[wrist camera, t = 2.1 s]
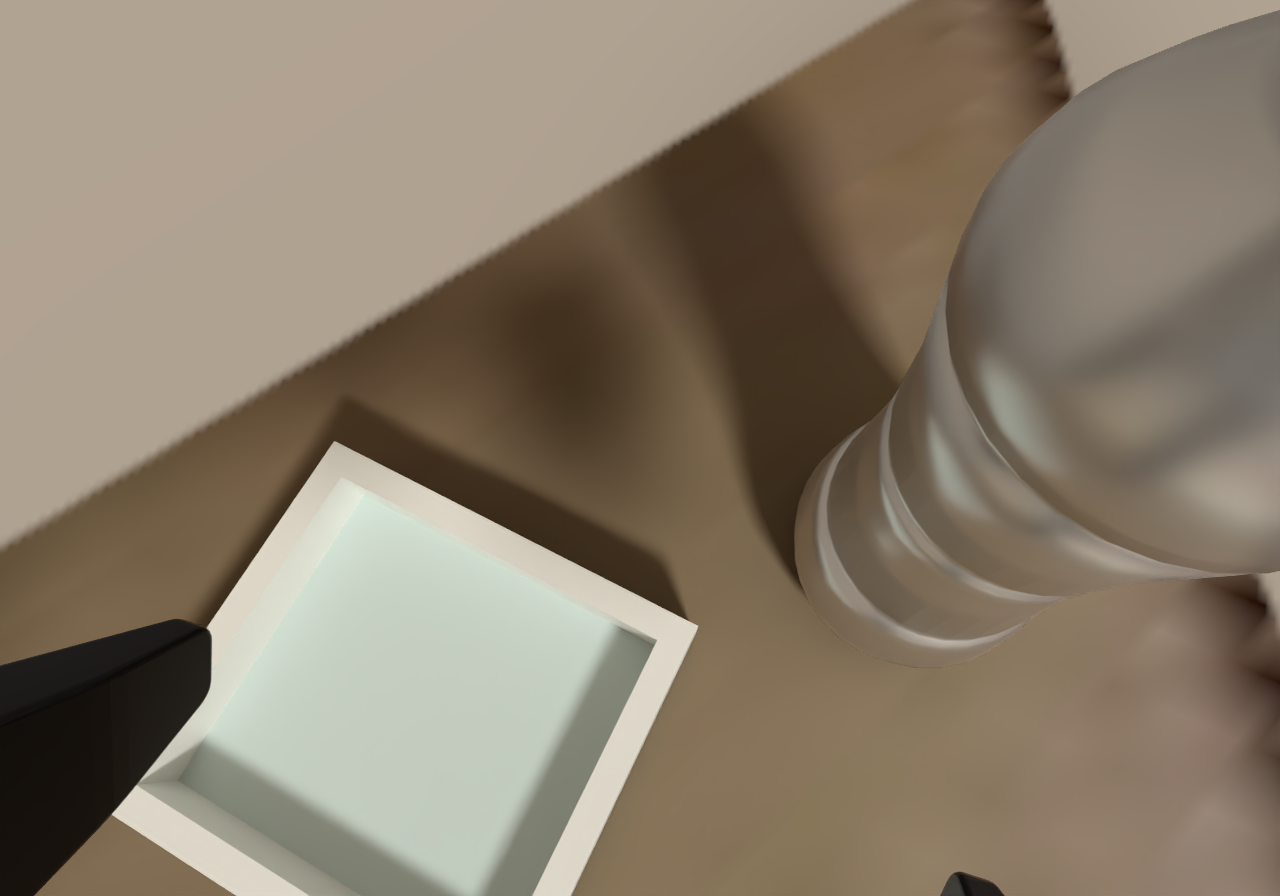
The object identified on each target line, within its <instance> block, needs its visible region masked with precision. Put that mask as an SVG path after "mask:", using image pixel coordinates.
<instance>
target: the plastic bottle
mask: <svg viewBox="0 0 1280 896" xmlns="http://www.w3.org/2000/svg"><path fill="white" fill-rule="evenodd" d="M794 545H795V562H796V567H797V571H798V575H799V580H800V583H801V585H802V587H803V590H804V592H805V594H806V596H807V599H808V601H809V603H810V604H811V606H812V607H813V609H814V610H815V612H816V613H817V615H818V616H819V617H820V619H821V620H822V621H823V622H824V623H825V624H826V625H827V626H828V627H829V628H830V629H831V630H832V631H833V632H834V634H835V635H836V636H837V637H839V638H840V639H842V640H843V641H845V642H846V643H848V644H849V645H850V646H852V647H853V648H855V649H856V650H858V651H861V652H863V653H865V654H868V655H870V656H872V657H874V658H877V659H880V660H883V661H887V662H891V663H896V664H900V665H905V666H909V667H914V668H942V667H947V666H952V665H957V664H962V663H965V662H968V661H970V660H972V659H974V658H976V657H979V656H981V655H983V654H985V653H987V652H989V651H990V650H992V649H993V648H995V647H996V646H998V645H999V644H1001V643H1002V642H1004V641H1005V640H1006V639H1008V638H1009V637H1010V636H1012V635H1013V634H1014V633H1016V632H1017V631H1018V630H1020V629H1021V628H1022V627H1024V626H1025V624H1026V623H1027V622H1028V621H1029V620H1030V619H1031V618H1032V617H1033V616H1035V615H1037V614H1039V613H1041V612H1043V611H1044V610H1046V609H1048V608H1050V607H1052V606H1054V605H1056V604H1057V603H1059V602H1061V601H1063V600H1065V599H1068V598H1072V597H1076V596H1081V595H1085V594H1087V593H1092V592H1097V591H1102V590H1106V589H1110V588H1114V587H1118V586H1123V585H1127V584H1133V583H1145V582H1158V581H1170V580H1183V579H1195V578H1207V577H1220V576H1232V575H1244V574H1250V573H1271V572H1276V571H1280V10H1278V11H1275V12H1272V13H1268V14H1265V15H1261V16H1258V17H1255V18H1251V19H1248V20H1245V21H1241V22H1238V23H1235V24H1231V25H1228V26H1225V27H1222V28H1220V29H1217V30H1214V31H1212V32H1209V33H1206V34H1203V35H1200V36H1198V37H1195V38H1192V39H1190V40H1187V41H1185V42H1182V43H1180V44H1178V45H1175V46H1173V47H1171V48H1169V49H1166V50H1163V51H1161V52H1159V53H1156V54H1154V55H1152V56H1149V57H1147V58H1144V59H1142V60H1140V61H1137V62H1135V63H1132V64H1130V65H1128V66H1125V67H1123V68H1121V69H1118V70H1116V71H1114V72H1112V73H1111V74H1109V75H1108V76H1106V77H1104V78H1103V79H1101V80H1099V81H1098V82H1096V83H1094V84H1093V85H1091V86H1089V87H1088V88H1086V89H1085V90H1083V91H1081V92H1080V93H1079V94H1078V95H1076V96H1075V97H1074V98H1073V99H1072V100H1071V101H1069V102H1068V103H1067V104H1066V105H1065V106H1063V107H1062V108H1061V109H1060V110H1059V111H1057V112H1056V113H1055V114H1054V115H1053V116H1051V117H1050V118H1049V119H1048V120H1047V121H1046V122H1044V123H1043V124H1042V125H1041V126H1040V127H1038V128H1037V129H1036V130H1035V131H1034V132H1032V133H1031V134H1030V135H1029V136H1028V137H1027V138H1026V139H1025V140H1024V141H1023V142H1022V143H1021V144H1020V145H1019V146H1018V147H1017V148H1016V149H1015V150H1014V151H1013V152H1012V153H1011V154H1010V155H1009V156H1008V157H1007V158H1005V159H1004V161H1003V162H1002V164H1001V165H1000V167H999V169H998V170H997V172H996V173H995V175H994V176H993V178H992V179H991V181H990V183H989V184H988V186H987V187H986V189H985V190H984V192H983V193H982V195H981V198H980V200H979V202H978V204H977V206H976V208H975V211H974V213H973V215H972V217H971V219H970V221H969V223H968V224H967V226H966V228H965V230H964V232H963V234H962V236H961V239H960V242H959V245H958V248H957V251H956V254H955V257H954V259H953V262H952V265H951V268H950V271H949V273H948V276H947V279H946V282H945V284H944V287H943V290H942V293H941V295H940V298H939V301H938V303H937V306H936V309H935V312H934V314H933V317H932V320H931V323H930V325H929V328H928V331H927V334H926V336H925V339H924V342H923V344H922V346H921V348H920V350H919V352H918V353H917V355H916V357H915V359H914V361H913V362H912V364H911V366H910V368H909V369H908V371H907V373H906V375H905V377H904V378H903V380H902V382H901V384H900V386H899V388H898V390H897V391H896V393H895V394H894V396H893V398H892V399H891V401H890V402H889V403H888V404H887V405H886V406H885V407H884V408H883V409H882V410H881V411H880V412H879V413H878V414H877V415H876V416H875V417H874V418H873V419H872V420H871V421H869V422H868V423H866V424H865V425H863V426H862V427H860V428H859V429H857V430H856V431H854V432H853V433H851V434H850V435H848V436H847V437H846V438H845V439H844V440H842V441H841V442H840V443H839V444H838V445H837V446H836V447H834V448H833V449H832V450H831V451H830V452H829V453H828V454H827V455H826V456H825V457H824V458H823V459H822V461H821V462H820V463H819V464H818V465H817V467H816V468H815V470H814V471H813V473H812V474H811V476H810V478H809V479H808V481H807V482H806V485H805V487H804V490H803V493H802V495H801V498H800V501H799V503H798V509H797V515H796V521H795V532H794Z"/></svg>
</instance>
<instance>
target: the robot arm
mask: <svg viewBox="0 0 1280 896" xmlns="http://www.w3.org/2000/svg"><path fill="white" fill-rule="evenodd" d="M211 675H212V635H211V633H210V631H209V629H207V628H206V627H204V626H201V625H198V624H195V623H192V622H189V621H186V620H182V619H172V620H168V621H164V622H161V623H157V624H153V625H150V626H146V627H142V628H138V629H135V630H131V631H127V632H124V633H120V634H116V635H112V636H109V637H105V638H101V639H97V640H94V641H90V642H86V643H83V644H79V645H75V646H71V647H68V648H64V649H60V650H56V651H53V652H49V653H45V654H41V655H38V656H34V657H30V658H27V659H23V660H19V661H15V662H12V663H8V664H4V665H0V896H34V895H35V894H36V893H37V892H38V891H39V890H40V889H41V888H42V887H43V886H44V885H45V884H46V883H47V882H48V881H49V880H50V879H51V878H52V876H53V875H54V874H55V873H56V872H57V871H58V870H59V869H60V868H61V867H62V866H63V865H64V864H65V863H66V862H67V861H68V860H69V859H70V858H71V857H72V856H73V855H74V854H75V853H76V852H77V851H78V849H79V848H80V847H81V846H82V845H83V844H84V843H85V842H86V841H87V840H88V839H89V838H90V837H91V836H92V835H93V834H94V833H95V832H96V831H97V830H98V829H99V828H100V826H101V825H102V824H103V823H104V822H105V821H106V820H107V819H108V818H109V817H110V816H111V815H112V813H113V812H114V811H115V810H116V809H117V808H118V807H119V806H120V804H121V803H122V802H123V801H124V800H125V798H126V797H127V796H128V795H129V794H130V793H131V791H132V790H133V789H134V788H135V786H136V785H137V784H138V783H139V781H140V780H141V779H142V778H143V776H144V775H145V774H146V773H147V771H148V770H149V769H150V768H151V766H152V765H153V764H154V763H155V762H156V760H157V759H158V758H159V757H160V755H161V754H162V753H163V752H164V750H165V749H166V748H167V747H168V745H169V744H170V743H171V742H172V740H173V739H174V738H175V737H176V735H177V734H178V733H179V732H180V730H181V729H182V728H183V727H184V725H185V724H186V723H187V722H188V720H189V719H190V718H191V717H192V715H193V714H194V713H195V712H196V710H197V709H198V708H199V707H200V706H201V704H202V703H203V701H204V700H205V698H206V696H207V694H208V692H209V689H210V685H211ZM940 896H1004V894H1003V893H1002V892H1001V890H1000V889H999V888H998V887H997V886H996V885H995V884H994V883H992V882H990V881H988V880H985V879H982V878H979V877H976V876H973V875H970V874H967V873H964V872H955V873H953V874H952V875H951V876H950V878H949V879H948V881H947V883H946V885H945V887H944V889H943V891H942V893H941V895H940Z"/></svg>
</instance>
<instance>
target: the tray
mask: <svg viewBox="0 0 1280 896" xmlns="http://www.w3.org/2000/svg"><path fill="white" fill-rule="evenodd" d="M207 629H209V631H210V633H211V635H212V675H211V685H210V689H209V692H208V694H207V696H206V698H205V700H204V701H203V703H202V704H201V706H200V707H199V708H198V709H197V710H196V712H195V713H194V714H193V715H192V717H191V718H190V719H189V720H188V722H187V723H186V724H185V725H184V727H183V728H182V729H181V730H180V732H179V733H178V734H177V735H176V737H175V738H174V739H173V740H172V742H171V743H170V744H169V745H168V747H167V748H166V749H165V750H164V752H163V753H162V754H161V755H160V757H159V758H158V759H157V760H156V762H155V763H154V764H153V765H152V766H151V768H150V769H149V770H148V771H147V773H146V774H145V775H144V776H143V778H142V779H141V780H140V781H139V783H138V784H137V785H136V786H135V788H134V789H133V790H132V791H131V793H130V794H129V795H128V796H127V797H126V798H125V800H124V801H123V802H122V803H121V804H120V806H119V807H118V808H117V809H116V810H115V811H114V812H113V813H112V815H113V816H115V817H116V818H118V819H119V820H121V821H122V822H124V823H125V824H127V825H128V826H130V827H132V828H133V829H135V830H136V831H138V832H139V833H141V834H142V835H144V836H145V837H147V838H148V839H150V840H152V841H153V842H155V843H156V844H158V845H159V846H161V847H162V848H164V849H165V850H167V851H168V852H170V853H171V854H173V855H175V856H176V857H178V858H179V859H181V860H182V861H184V862H185V863H187V864H188V865H190V866H191V867H193V868H195V869H196V870H198V871H199V872H201V873H202V874H204V875H205V876H207V877H208V878H210V879H211V880H213V881H215V882H216V883H218V884H219V885H221V886H222V887H224V888H225V889H227V890H228V891H230V892H231V893H233V894H234V895H236V896H572V893H573V891H574V889H575V887H576V885H577V883H578V881H579V879H580V877H581V875H582V872H583V870H584V868H585V866H586V864H587V862H588V860H589V858H590V856H591V853H592V851H593V849H594V847H595V845H596V843H597V841H598V839H599V837H600V834H601V832H602V830H603V828H604V826H605V824H606V822H607V820H608V818H609V816H610V813H611V811H612V809H613V807H614V805H615V803H616V801H617V799H618V797H619V794H620V792H621V790H622V788H623V786H624V784H625V782H626V780H627V778H628V775H629V773H630V771H631V769H632V767H633V765H634V763H635V761H636V759H637V757H638V754H639V752H640V750H641V748H642V746H643V744H644V742H645V740H646V738H647V735H648V733H649V731H650V729H651V727H652V725H653V723H654V721H655V719H656V716H657V714H658V712H659V710H660V708H661V706H662V704H663V702H664V700H665V698H666V695H667V693H668V691H669V689H670V687H671V685H672V683H673V681H674V679H675V676H676V674H677V672H678V670H679V668H680V666H681V664H682V662H683V660H684V658H685V655H686V653H687V651H688V649H689V647H690V645H691V643H692V641H693V639H694V636H695V634H696V631H697V629H698V626H697V625H695V624H693V623H691V622H689V621H687V620H685V619H683V618H681V617H679V616H677V615H675V614H673V613H671V612H669V611H667V610H665V609H663V608H662V607H660V606H658V605H656V604H654V603H652V602H650V601H648V600H646V599H644V598H642V597H640V596H638V595H636V594H634V593H632V592H630V591H628V590H626V589H624V588H622V587H620V586H618V585H616V584H614V583H612V582H610V581H608V580H606V579H605V578H603V577H601V576H599V575H597V574H595V573H593V572H591V571H589V570H587V569H585V568H583V567H581V566H579V565H577V564H575V563H573V562H571V561H569V560H567V559H565V558H563V557H561V556H559V555H557V554H555V553H553V552H551V551H549V550H548V549H546V548H544V547H542V546H540V545H538V544H536V543H534V542H532V541H530V540H528V539H526V538H524V537H522V536H520V535H518V534H516V533H514V532H512V531H510V530H508V529H506V528H504V527H502V526H500V525H498V524H496V523H494V522H492V521H491V520H489V519H487V518H485V517H483V516H481V515H479V514H477V513H475V512H473V511H471V510H469V509H467V508H465V507H463V506H461V505H459V504H457V503H455V502H453V501H451V500H449V499H447V498H445V497H443V496H441V495H439V494H437V493H436V492H434V491H432V490H430V489H428V488H426V487H424V486H422V485H420V484H418V483H416V482H414V481H412V480H410V479H408V478H406V477H404V476H402V475H400V474H398V473H396V472H394V471H392V470H390V469H388V468H386V467H384V466H382V465H380V464H379V463H377V462H375V461H373V460H371V459H369V458H367V457H365V456H363V455H361V454H359V453H357V452H355V451H353V450H351V449H349V448H347V447H345V446H343V445H341V444H339V443H337V442H335V441H334V442H333V444H332V445H331V447H330V448H329V450H328V451H327V452H326V454H325V455H324V457H323V458H322V460H321V461H320V463H319V464H318V466H317V467H316V469H315V470H314V471H313V473H312V474H311V476H310V477H309V479H308V480H307V482H306V483H305V485H304V486H303V488H302V489H301V491H300V492H299V493H298V495H297V496H296V498H295V499H294V501H293V502H292V504H291V505H290V507H289V508H288V510H287V511H286V512H285V514H284V515H283V517H282V518H281V520H280V521H279V523H278V524H277V526H276V527H275V529H274V530H273V532H272V533H271V534H270V536H269V537H268V539H267V540H266V542H265V543H264V545H263V546H262V548H261V549H260V551H259V552H258V553H257V555H256V556H255V558H254V559H253V561H252V562H251V564H250V565H249V567H248V568H247V570H246V571H245V573H244V574H243V575H242V577H241V578H240V580H239V581H238V583H237V584H236V586H235V587H234V589H233V590H232V592H231V593H230V595H229V596H228V597H227V599H226V600H225V602H224V603H223V605H222V606H221V608H220V609H219V611H218V612H217V614H216V615H215V616H214V618H213V619H212V621H211V622H210V624H209V625H208V627H207Z"/></svg>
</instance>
